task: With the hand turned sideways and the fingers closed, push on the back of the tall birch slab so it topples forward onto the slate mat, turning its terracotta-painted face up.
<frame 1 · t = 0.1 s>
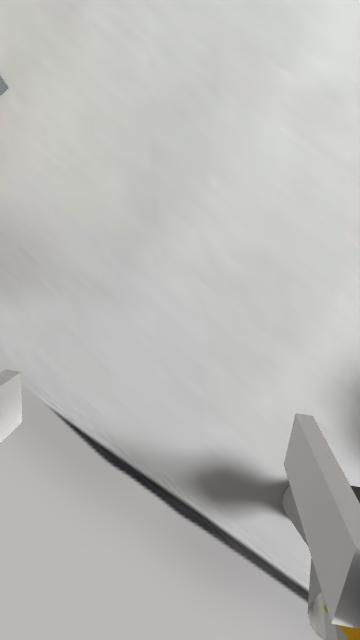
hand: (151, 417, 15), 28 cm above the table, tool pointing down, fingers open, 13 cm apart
lava lamp: (312, 501, 48), on the table
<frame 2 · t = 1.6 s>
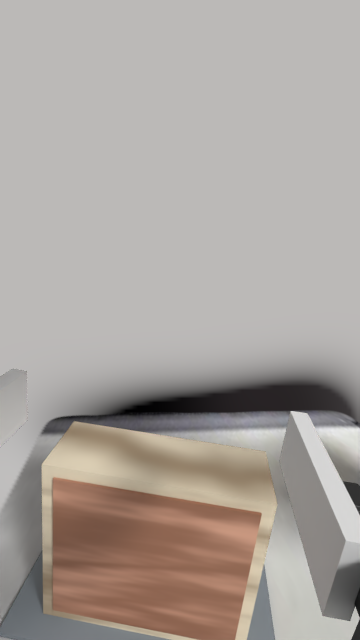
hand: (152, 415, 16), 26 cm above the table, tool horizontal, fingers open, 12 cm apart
slate mat: (161, 521, 40), on the table
birch slab: (147, 597, 32), resting on slate mat
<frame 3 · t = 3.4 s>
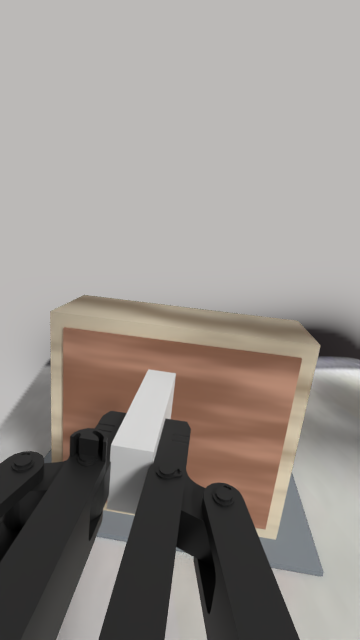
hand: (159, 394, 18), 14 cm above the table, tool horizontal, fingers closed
slate mat: (177, 434, 38), on the table
birch slab: (166, 491, 29), resting on slate mat
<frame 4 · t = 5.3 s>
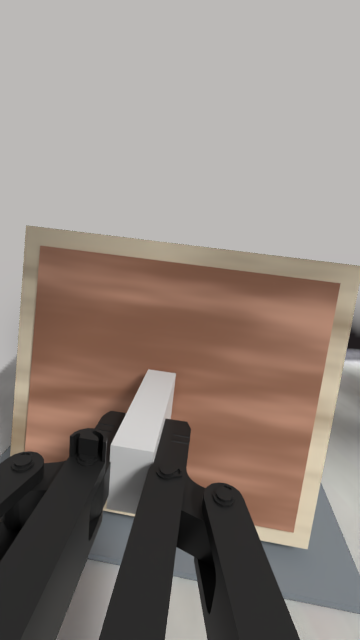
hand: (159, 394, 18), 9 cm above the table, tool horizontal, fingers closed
slate mat: (175, 425, 31), on the table
birch slab: (159, 488, 22), point 1 cm above the table, tilted 8°, touching gripper, slate mat
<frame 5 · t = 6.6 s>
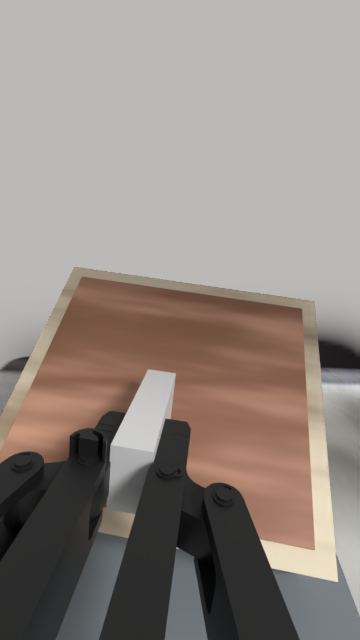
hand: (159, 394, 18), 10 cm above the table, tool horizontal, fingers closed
slate mat: (162, 478, 26), on the table
birch slab: (143, 541, 18), point 3 cm above the table, tilted 49°, touching gripper, slate mat
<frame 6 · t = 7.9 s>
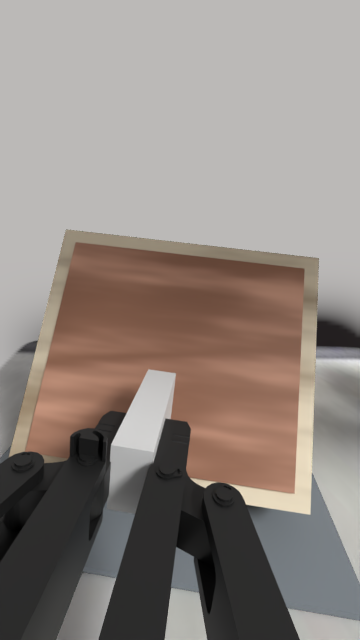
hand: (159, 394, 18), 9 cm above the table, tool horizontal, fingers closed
slate mat: (170, 429, 31), on the table
birch slab: (158, 479, 22), point 2 cm above the table, tilted 30°, touching slate mat
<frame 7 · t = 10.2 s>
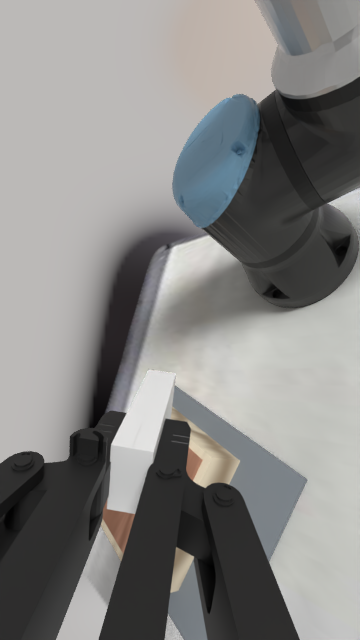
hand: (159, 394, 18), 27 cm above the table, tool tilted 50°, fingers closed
slate mat: (183, 494, 46), on the table
birch slab: (194, 526, 40), point 3 cm above the table, tilted 90°, touching slate mat
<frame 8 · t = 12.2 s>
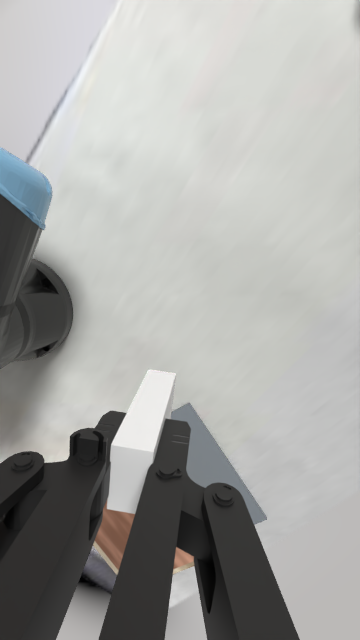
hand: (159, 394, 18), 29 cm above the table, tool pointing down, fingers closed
slate mat: (157, 495, 55), on the table
birch slab: (185, 497, 51), point 3 cm above the table, tilted 90°, touching slate mat
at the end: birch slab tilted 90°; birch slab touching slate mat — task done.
